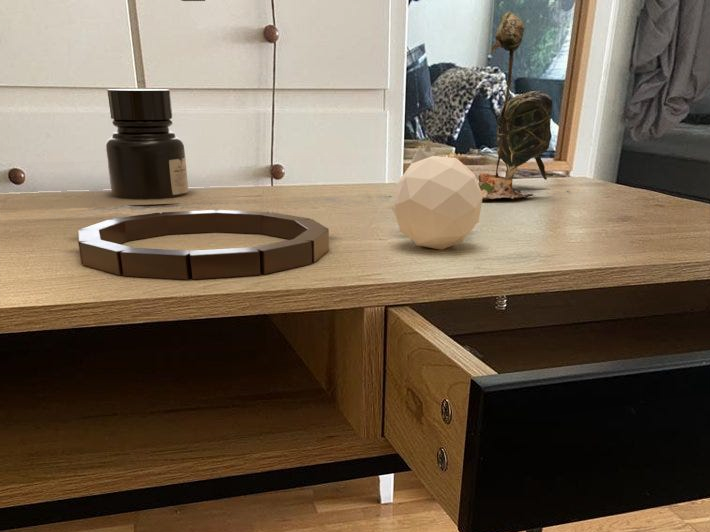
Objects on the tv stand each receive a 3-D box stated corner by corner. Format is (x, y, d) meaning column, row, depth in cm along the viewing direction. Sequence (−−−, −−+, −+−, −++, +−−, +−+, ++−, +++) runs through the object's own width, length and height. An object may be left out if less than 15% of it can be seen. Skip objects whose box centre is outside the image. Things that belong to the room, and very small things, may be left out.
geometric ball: (411, 278, 70) (360, 203, 68) (460, 235, 73) (413, 162, 71) (464, 248, 63) (409, 164, 61) (515, 202, 67) (464, 121, 65)
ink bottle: (198, 206, 89) (188, 90, 83) (121, 210, 86) (105, 90, 80) (178, 195, 97) (168, 88, 91) (106, 198, 93) (91, 88, 88)
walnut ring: (83, 287, 55) (79, 262, 54) (79, 235, 72) (76, 215, 71) (356, 268, 61) (356, 245, 60) (292, 224, 78) (292, 206, 77)
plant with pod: (558, 202, 94) (582, 11, 84) (467, 202, 93) (481, 9, 83) (538, 193, 101) (558, 16, 91) (454, 193, 100) (465, 14, 90)
